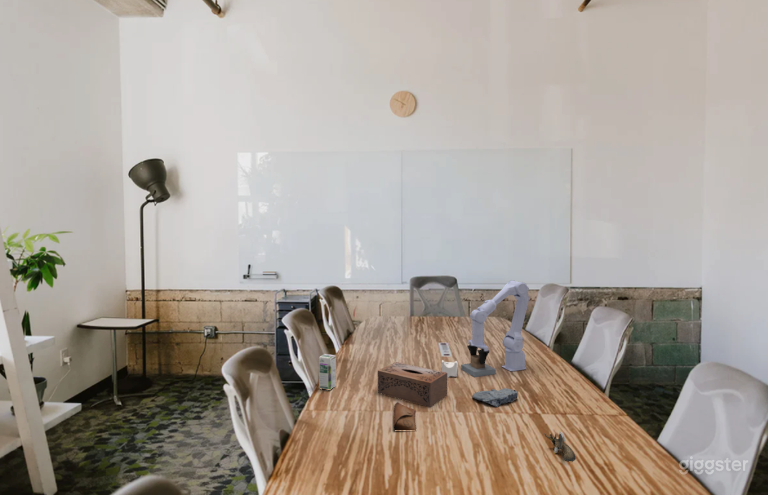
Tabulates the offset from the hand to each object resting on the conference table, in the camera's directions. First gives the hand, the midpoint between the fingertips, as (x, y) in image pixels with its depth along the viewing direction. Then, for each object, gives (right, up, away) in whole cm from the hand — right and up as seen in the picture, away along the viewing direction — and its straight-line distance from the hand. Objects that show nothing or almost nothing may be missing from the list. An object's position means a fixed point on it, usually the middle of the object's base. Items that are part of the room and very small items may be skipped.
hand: (478, 361), depth 203 cm
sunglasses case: (-39, -8, -52) cm, 65 cm away
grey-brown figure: (+8, -8, -75) cm, 76 cm away
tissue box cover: (-34, -7, -28) cm, 45 cm away
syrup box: (-71, -6, -20) cm, 74 cm away
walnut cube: (0, -2, 0) cm, 2 cm away
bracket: (-14, -6, -1) cm, 15 cm away
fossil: (-1, -7, -35) cm, 36 cm away
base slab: (0, -5, 0) cm, 5 cm away
